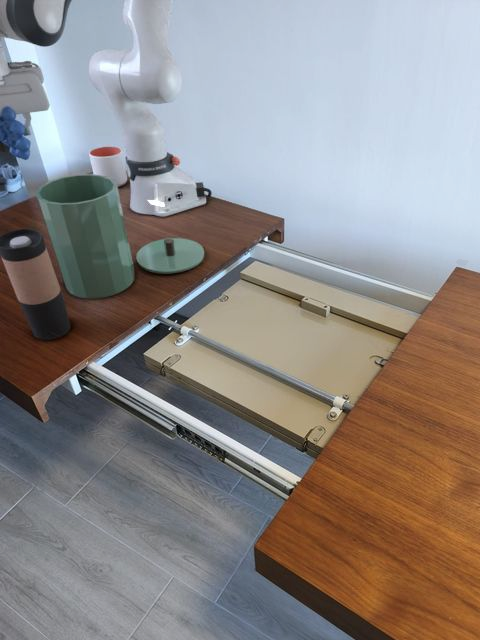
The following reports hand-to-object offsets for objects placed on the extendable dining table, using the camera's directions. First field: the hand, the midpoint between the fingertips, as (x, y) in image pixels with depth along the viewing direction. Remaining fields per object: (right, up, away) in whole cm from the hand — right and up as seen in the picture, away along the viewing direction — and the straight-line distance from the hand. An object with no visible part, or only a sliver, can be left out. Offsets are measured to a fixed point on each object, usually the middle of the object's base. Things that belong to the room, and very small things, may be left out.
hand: (8, 137), depth 103 cm
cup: (+7, +7, +49) cm, 50 cm away
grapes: (0, -4, +3) cm, 5 cm away
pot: (+18, -30, +6) cm, 36 cm away
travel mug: (+13, -42, -8) cm, 45 cm away
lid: (+33, -23, +13) cm, 42 cm away
